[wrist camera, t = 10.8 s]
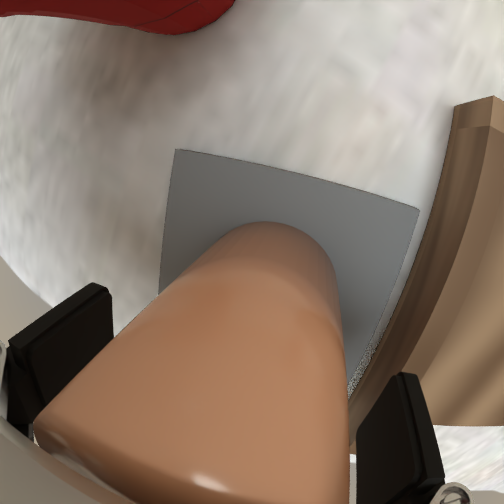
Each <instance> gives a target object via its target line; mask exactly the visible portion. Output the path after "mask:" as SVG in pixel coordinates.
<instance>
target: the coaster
mask: <svg viewBox="0 0 504 504" xmlns="http://www.w3.org/2000/svg"><path fill="white" fill-rule="evenodd" d="M419 212H420V210H419V209H417V208H415V207H412V206H409V205H406V204H403V203H400V202H397V201H394V200H391V199H388V198H385V197H381V196H378V195H375V194H372V193H368V192H365V191H362V190H358V189H355V188H351V187H348V186H344V185H341V184H337V183H334V182H330V181H326V180H322V179H319V178H315V177H311V176H307V175H303V174H299V173H295V172H291V171H287V170H283V169H278V168H274V167H270V166H265V165H261V164H256V163H251V162H247V161H242V160H237V159H232V158H227V157H222V156H216V155H211V154H206V153H200V152H194V151H188V150H182V149H175V155H174V161H173V167H172V174H171V180H170V187H169V194H168V202H167V210H166V218H165V226H164V236H163V245H162V256H161V267H160V279H159V293H158V295H159V294H160V293H161V292H162V291H164V290H165V289H166V288H167V287H168V286H169V285H170V284H171V283H172V282H173V281H174V280H175V279H176V278H177V277H178V276H180V275H181V274H182V273H183V272H184V271H185V270H186V269H187V268H188V267H189V266H190V265H191V264H192V263H194V262H195V261H196V260H197V259H198V258H199V257H200V256H201V255H202V254H203V253H204V252H206V251H207V250H208V249H209V248H210V247H211V246H212V245H213V244H214V243H215V242H216V241H218V240H219V239H220V238H221V237H222V236H223V235H225V234H226V233H227V232H229V231H231V230H233V229H234V228H236V227H239V226H242V225H244V224H248V223H253V222H262V221H268V222H278V223H283V224H286V225H289V226H292V227H295V228H297V229H299V230H301V231H303V232H304V233H306V234H307V235H309V236H311V237H312V238H313V239H314V240H315V241H316V242H317V243H318V244H319V245H320V246H321V247H322V248H323V249H324V250H325V252H326V253H327V255H328V256H329V258H330V260H331V262H332V264H333V267H334V270H335V273H336V278H337V284H338V292H339V301H340V309H341V318H342V328H343V338H344V349H345V361H346V375H347V385H348V383H349V382H350V380H351V378H352V376H353V374H354V372H355V370H356V368H357V366H358V364H359V362H360V360H361V358H362V356H363V354H364V352H365V350H366V348H367V346H368V344H369V342H370V340H371V338H372V336H373V333H374V331H375V329H376V327H377V325H378V322H379V320H380V318H381V316H382V313H383V311H384V309H385V306H386V304H387V302H388V299H389V297H390V294H391V292H392V289H393V287H394V284H395V282H396V279H397V277H398V274H399V271H400V269H401V266H402V263H403V261H404V258H405V255H406V252H407V249H408V246H409V244H410V241H411V238H412V235H413V231H414V228H415V225H416V222H417V219H418V216H419Z"/></svg>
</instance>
